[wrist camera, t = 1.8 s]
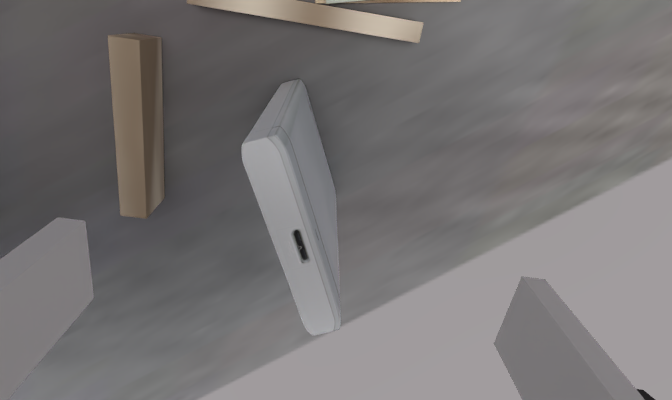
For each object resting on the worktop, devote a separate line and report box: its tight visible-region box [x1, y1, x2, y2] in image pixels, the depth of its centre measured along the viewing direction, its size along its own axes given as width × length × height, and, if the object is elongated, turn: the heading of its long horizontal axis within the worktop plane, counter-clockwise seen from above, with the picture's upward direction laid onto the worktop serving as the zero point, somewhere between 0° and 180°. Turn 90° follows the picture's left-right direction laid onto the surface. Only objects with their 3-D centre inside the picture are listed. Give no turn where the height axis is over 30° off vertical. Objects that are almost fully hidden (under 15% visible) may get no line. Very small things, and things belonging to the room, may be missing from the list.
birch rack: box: [108, 0, 423, 219], centre depth 23 cm, size 16×13×3 cm
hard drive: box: [241, 79, 341, 336], centre depth 20 cm, size 2×8×12 cm, turn 15°
